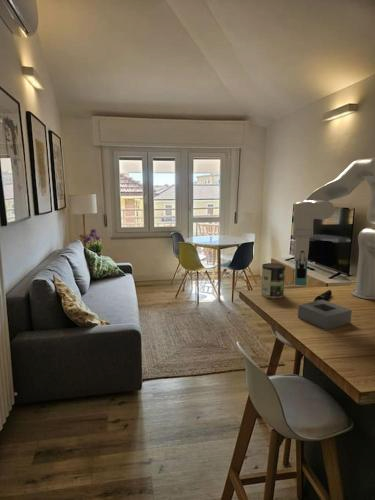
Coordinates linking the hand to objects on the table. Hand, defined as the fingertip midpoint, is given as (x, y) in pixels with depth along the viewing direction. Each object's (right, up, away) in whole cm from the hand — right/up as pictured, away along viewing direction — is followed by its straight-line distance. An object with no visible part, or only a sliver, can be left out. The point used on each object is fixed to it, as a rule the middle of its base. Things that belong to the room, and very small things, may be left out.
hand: (300, 275), depth 132 cm
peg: (0, -3, +1) cm, 3 cm away
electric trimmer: (+14, -12, +11) cm, 22 cm away
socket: (+4, -16, -12) cm, 20 cm away
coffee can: (-7, -10, +18) cm, 22 cm away
